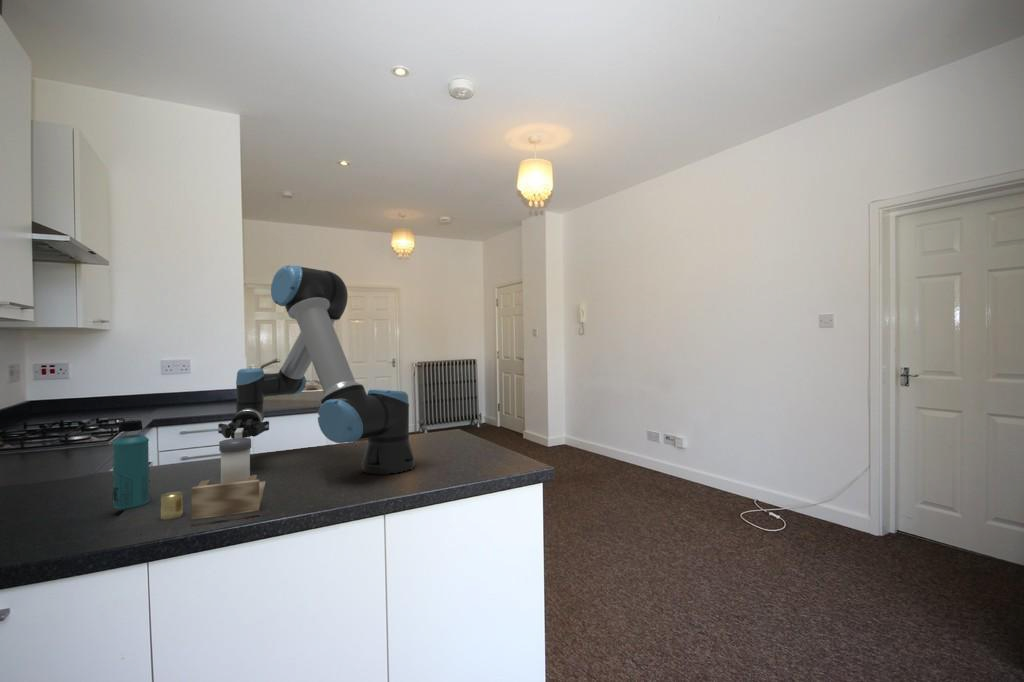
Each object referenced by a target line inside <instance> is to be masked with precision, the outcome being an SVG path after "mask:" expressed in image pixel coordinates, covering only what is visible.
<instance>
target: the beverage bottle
mask: <svg viewBox="0 0 1024 682" xmlns="http://www.w3.org/2000/svg"><path fill="white" fill-rule="evenodd" d="M118 425H119V426H118V432H120V433H123V432H124V433H128V432H137V431H141V430H143V422H142V420H139V419H131V420H123V421H120V422H119V424H118ZM149 441H150V439H149V438H148V437H147V436H145V435H144V434H129V435H123V436H119V437H117V438H116V439H115V440H114V441H113V442H112V476H111V477H112V484H113V485H112V498H111V499H112V505H113V508H114V509H115V510H116V509H117V510H124V509H125V510H126V509H131V508H132V509H133V508H138V507H141V506H144V505H146V504H148V503H149V502H150V496H151V493H150V481H151V480H150V473H151V472H150V463H149V459H150V457H149V456H150V455H149V453H150V451H149Z"/></svg>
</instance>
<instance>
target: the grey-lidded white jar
mask: <svg viewBox="0 0 1024 682" xmlns="http://www.w3.org/2000/svg"><path fill="white" fill-rule="evenodd" d="M218 448H219V449H218V451H219V452H220V484H223V483H232V482H241V481H247V480H248V477H249V476H250V475H251V448H252V439H251V437H247V438H235V439H233V438H226V439H223V440H221V441H219V442H218Z"/></svg>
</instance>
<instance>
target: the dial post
mask: <svg viewBox="0 0 1024 682" xmlns="http://www.w3.org/2000/svg"><path fill="white" fill-rule="evenodd" d="M182 516H183V492H182V491H169V492H166V493H163V494H161V495H160V519H161V520H173V519H178V518H180V517H182Z"/></svg>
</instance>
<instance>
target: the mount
mask: <svg viewBox="0 0 1024 682" xmlns="http://www.w3.org/2000/svg"><path fill="white" fill-rule="evenodd" d="M257 475H258V474H253V475H251V474H250V476H249V477H248V480H247V481H241V482H232V483H223V484H221V483H216V484H211V479H207V480H205V479H204V480H201V481H200V482H199V484H198V485H197V486H192V487H191V496H190V497H191V520H197V519H198V520H199V519H205V518H206V519H208V518H213V517H214V518H215V517H221V516H229V515H235V514H236V515H237V514H243V513H244V514H245V513H251V512H259V511H260V507H261V504H262V498H263V494H264V490H265V486H266V480H264V481H260V479H257V478H258V476H257ZM255 517H260V514H256V515H251V516H242V517H241V516H240V517H235V518H228V519H220V520H213V521H205V522H199V523H192V524H190V526H191V527H190V528H193V527H201V526H208V525H214V524H222V522H223V523H229V521H230V522H236V521H235V520H237V521H241V520H240V519H245V520H249V519H248V518H252V519H256V518H255Z"/></svg>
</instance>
